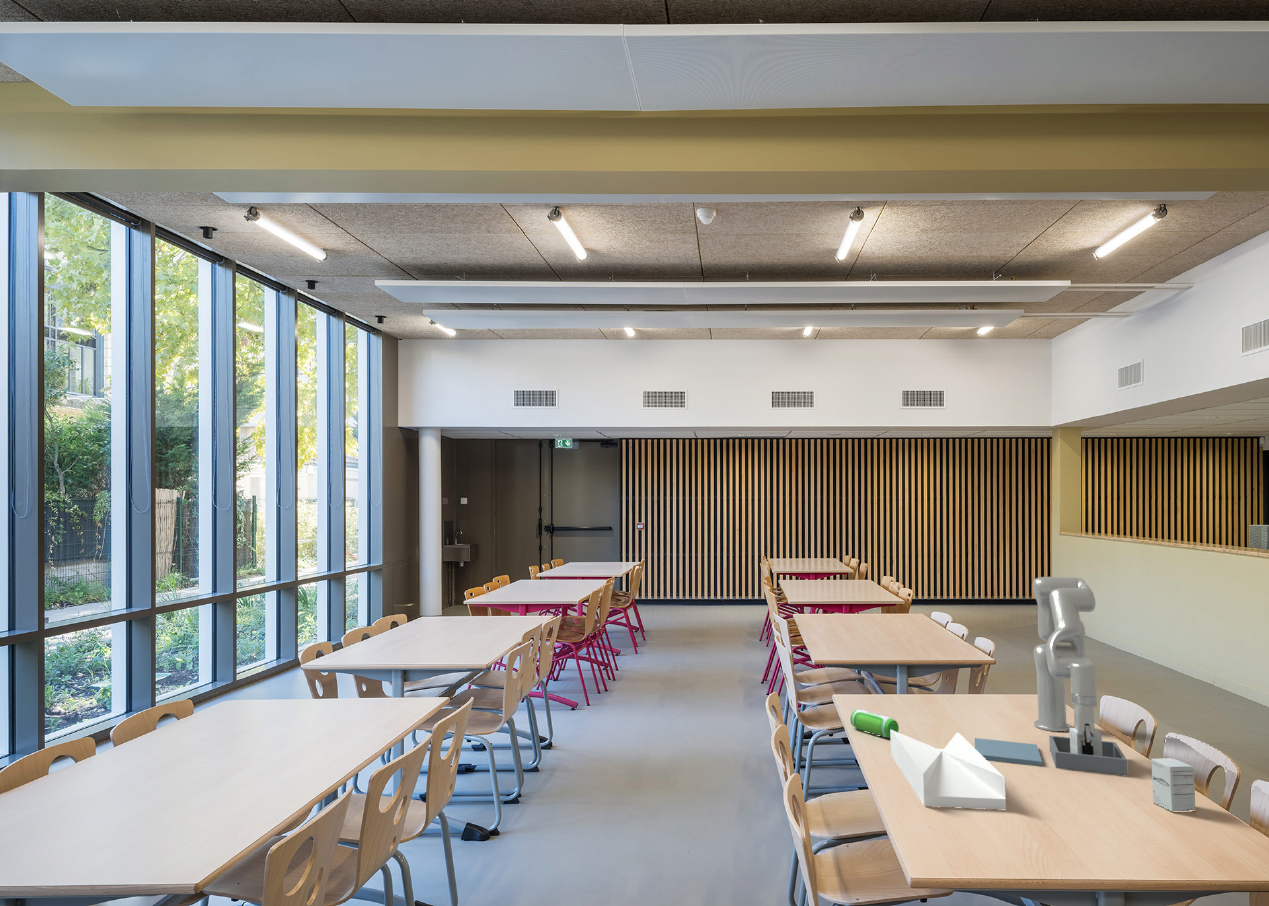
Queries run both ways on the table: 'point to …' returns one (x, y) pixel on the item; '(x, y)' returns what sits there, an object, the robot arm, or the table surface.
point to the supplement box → (1173, 784)
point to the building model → (949, 773)
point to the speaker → (873, 723)
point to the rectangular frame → (1088, 757)
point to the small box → (1077, 742)
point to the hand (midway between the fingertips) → (1086, 753)
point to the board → (1008, 751)
